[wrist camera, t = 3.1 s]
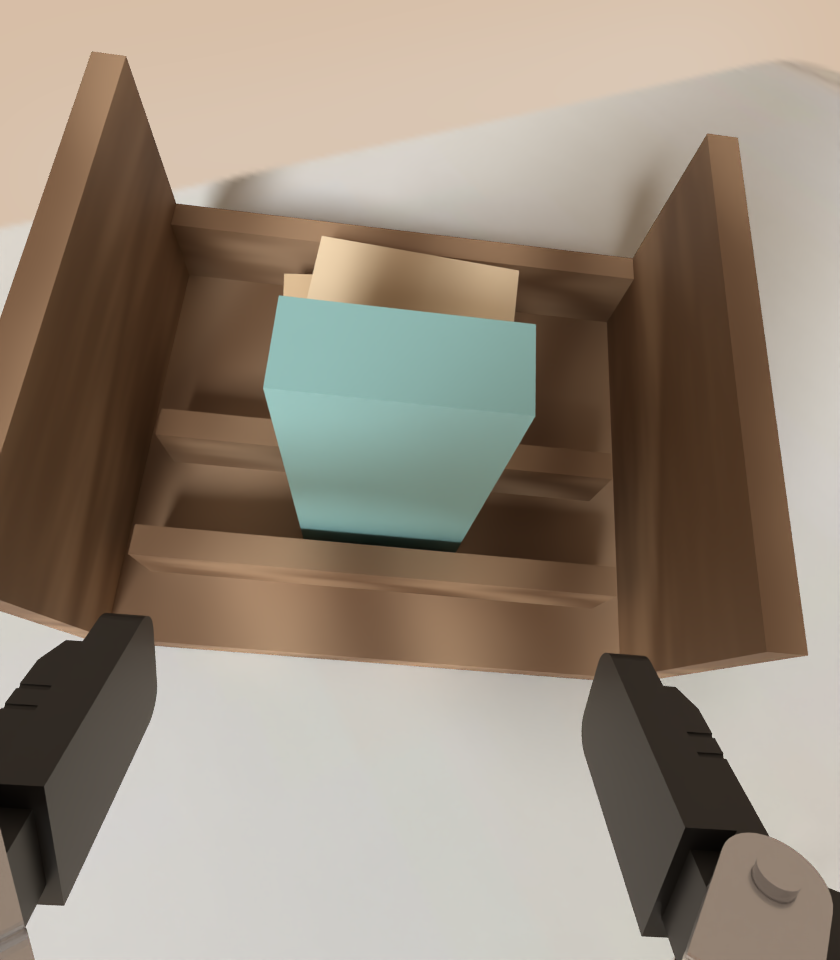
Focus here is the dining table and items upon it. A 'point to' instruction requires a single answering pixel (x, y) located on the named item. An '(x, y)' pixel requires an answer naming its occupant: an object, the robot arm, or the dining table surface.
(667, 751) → the robot arm
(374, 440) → the teal board
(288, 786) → the dining table surface
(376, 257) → the offcut stack
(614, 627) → the walnut rack
